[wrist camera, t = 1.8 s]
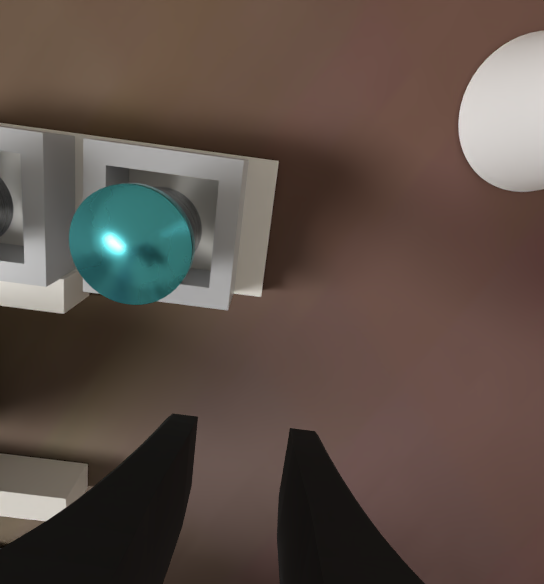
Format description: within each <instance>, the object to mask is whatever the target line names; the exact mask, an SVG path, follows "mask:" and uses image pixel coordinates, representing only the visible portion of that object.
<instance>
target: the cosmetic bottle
mask: <svg viewBox="0 0 544 584" xmlns="http://www.w3.org/2000/svg"><path fill="white" fill-rule="evenodd" d="M458 127H459V138H460V143H461V147H462V150H463V153H464V155H465V157H466V159H467V161H468V163H469V164H470V166H471V167H472V168H473V170H474V171H475V172H476V173H477V174H478V175H479V176H480V177H481V178H483V179H484V180H485V181H487V182H488V183H490V184H492V185H494V186H496V187H499V188H501V189H504V190H509V191H516V192H530V191H536V190H542V189H544V31H538V32H532V33H529V34H525V35H522V36H520V37H518V38H515V39H513V40H511V41H509V42H508V43H506V44H504V45H503V46H501V47H500V48H499V49H497V50H496V51H495V52H493V53H492V54H491V55H490V56H489V57H488V58H487V59H486V60H485V61H484V62H483V64H482V65H481V66H480V67H479V68H478V70H477V71H476V73H475V74H474V76H473V77H472V79H471V81H470V83H469V84H468V86H467V89H466V91H465V93H464V96H463V99H462V103H461V107H460V112H459V122H458Z"/></svg>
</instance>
